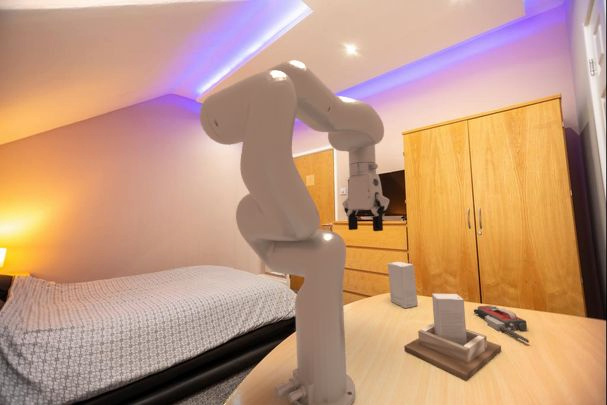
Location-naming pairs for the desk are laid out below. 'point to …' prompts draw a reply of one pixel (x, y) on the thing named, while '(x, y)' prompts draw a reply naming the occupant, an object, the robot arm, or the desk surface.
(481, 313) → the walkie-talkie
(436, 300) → the skincare box
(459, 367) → the socket board
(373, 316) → the desk surface
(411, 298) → the skincare box
